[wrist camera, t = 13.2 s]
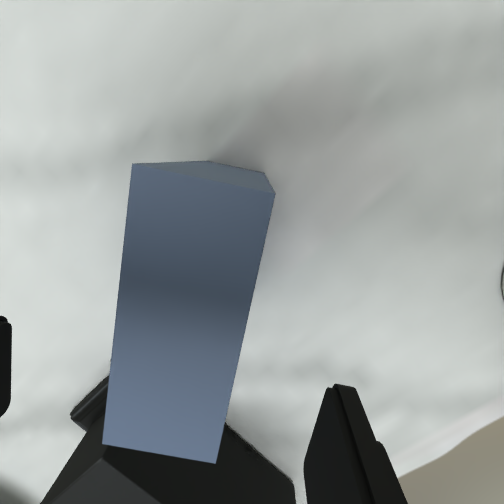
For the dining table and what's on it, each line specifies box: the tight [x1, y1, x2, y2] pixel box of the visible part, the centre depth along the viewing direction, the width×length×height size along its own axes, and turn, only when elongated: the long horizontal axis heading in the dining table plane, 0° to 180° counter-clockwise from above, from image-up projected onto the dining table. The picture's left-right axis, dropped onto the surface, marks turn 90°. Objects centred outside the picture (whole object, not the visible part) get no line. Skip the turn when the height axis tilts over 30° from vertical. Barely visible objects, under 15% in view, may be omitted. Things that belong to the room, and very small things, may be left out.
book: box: [102, 161, 275, 464], centre depth 22 cm, size 12×5×18 cm, turn 168°
